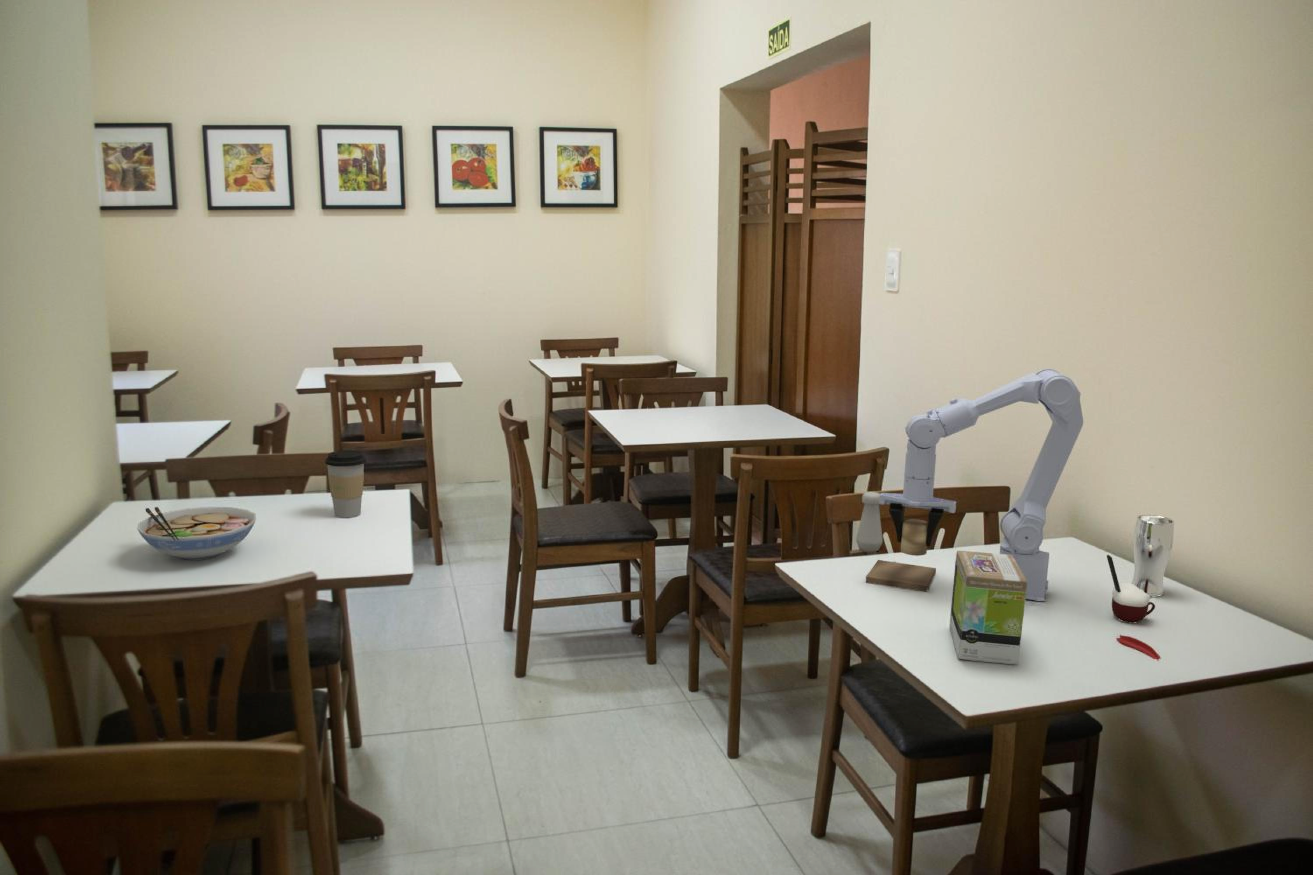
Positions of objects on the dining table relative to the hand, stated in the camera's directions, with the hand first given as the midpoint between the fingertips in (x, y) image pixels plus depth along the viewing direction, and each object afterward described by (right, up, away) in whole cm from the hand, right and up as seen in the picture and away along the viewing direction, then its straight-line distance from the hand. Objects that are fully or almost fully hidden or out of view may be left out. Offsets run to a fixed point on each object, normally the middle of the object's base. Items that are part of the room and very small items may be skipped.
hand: (914, 542), depth 204 cm
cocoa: (+36, -13, -14) cm, 40 cm away
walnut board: (-1, -8, +6) cm, 10 cm away
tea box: (+5, -15, -27) cm, 32 cm away
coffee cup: (-125, +2, +43) cm, 132 cm away
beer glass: (+47, -10, +1) cm, 48 cm away
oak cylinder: (0, -2, 0) cm, 2 cm away
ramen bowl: (-147, -4, +11) cm, 147 cm away
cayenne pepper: (+32, -16, -27) cm, 44 cm away
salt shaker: (-4, -4, +24) cm, 25 cm away
